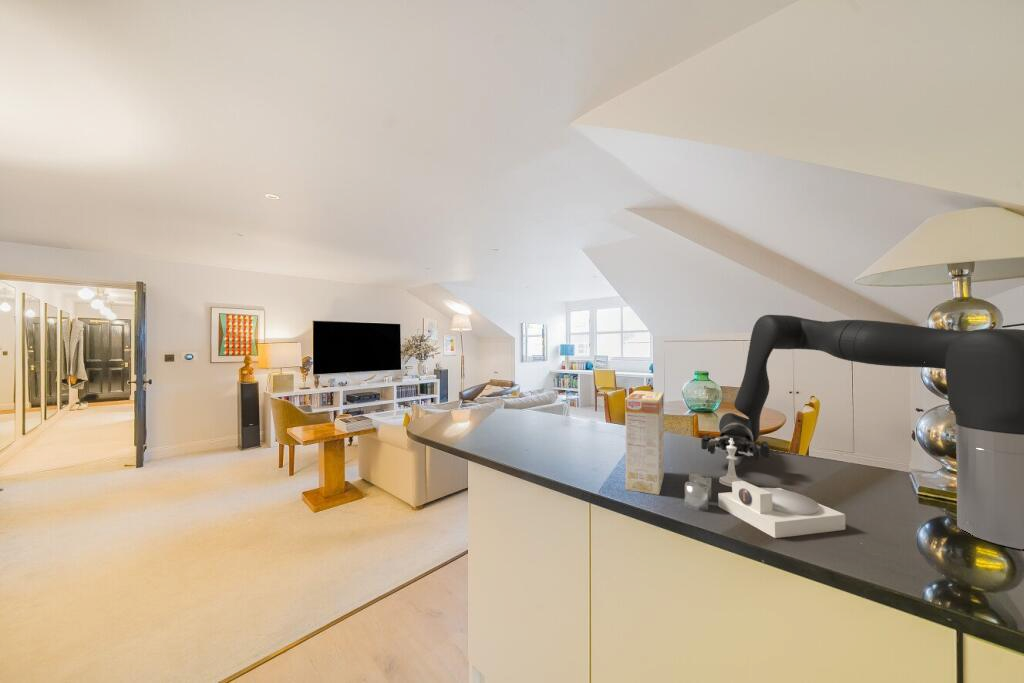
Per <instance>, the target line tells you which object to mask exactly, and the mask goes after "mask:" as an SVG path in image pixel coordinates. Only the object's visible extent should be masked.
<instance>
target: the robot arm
mask: <svg viewBox="0 0 1024 683" xmlns="http://www.w3.org/2000/svg"><path fill="white" fill-rule="evenodd" d="M773 350H809V351H812V350H813V351H820V352H824V353H826V354H828V355H830V356H832V357H834V358H837V359H841V360H844V361H849V362H853V363H854V362H855V363H862V364H867V365H874V366H885V367H901V368H926V369H927V368H928V369H929V368H930V369H931V368H933V369H941V370H945V378H946V390H947V399H948V400H947V401H948V404H949V407H950V409H951V410H952V412H953V414H954V415H955V416H954V417H955V443H956V444H955V445H956V446H955V447H956V450H955V451H956V454H955V455H956V526H957V528H958V527H959V528H960V530H961V529H962V530H964V531H966V532H968V533H970V534H971V535H970V534H969V535H970V536H972V535H973V536H972V537H976V538H977V539H978V538H979V539H981V540H983V541H987V542H989V543H993V544H996V545H1000V546H1003V547H1004V546H1005V547H1007V548H1008V547H1009V548H1014V549H1019V550H1023V549H1024V329H1018V328H1017V329H1016V328H1014V329H1013V328H980V329H972V330H954V329H953V330H951V329H950V330H949V329H941V328H932V327H928V326H921V325H920V326H919V325H915V324H906V323H901V322H900V323H899V322H889V321H880V320H869V319H867V320H865V319H841V320H840V319H839V320H833V321H831V320H830V321H822V320H821V321H820V320H816V319H808V318H805V317H799V316H794V315H789V314H788V315H787V314H786V315H784V314H783V315H781V314H765V315H762V316H760V317H759V318H758V319H757V320H756V322H755V323H754V325H753V328H752V331H751V335H750V341H749V346H748V351H747V352H748V353H747V357H746V358H747V359H746V364H745V370H744V374H743V378H742V381H741V384H740V387H739V389H738V392H737V395H736V397H735V399H734V403H733V406H734V408H735V409H736V410H737V411H738V412H740V413H741V414H742V415H744V416H746V417H744V416H741V415H738V414H736V413H732V412H726V413H725V414H723V415H722V416H721V418H720V419H719V423H718V428H719V432H720V433H719V435H718V436H716V437H715V438H712V436H711V435H709V434H704V435H703V437H702V438H700V440H701V444H700V445H701V446H700V447H701V449H702V450H707V452H709V453H710V454H711V455H714V454H715V452H719V453H726V454H728V451H727V448H726V447H727V446H729V445H730V442H729V440H730V438H733V442H734V444H733V446H735V447H736V448H737V450H736V452H735V455H734V456H735V457H736V458H738V457H744V456H747V457H752V460H754V461H757V459H761V456H763V458H766V459H770V458H771V455H770V453H771V452H770V450H771V448H770V444H769V442H767V441H765V440H764V441H761V442H759V444H757V443H755V442H756V441H757V440H758V439H759V437H760V431H761V430H760V429H761V426H760V425H761V424H760V423H761V422H760V420H761V416H762V415H761V414H762V411H763V408H764V406H765V403H766V401H767V399H768V396H769V393H770V379H769V376H768V371H767V370H768V368H767V367H768V366H767V365H768V360H769V358H770V356H771V353H772V351H773ZM924 362H925V363H924ZM959 528H958V529H959ZM962 530H961V531H962ZM964 531H963V532H964ZM966 532H965V533H966ZM968 533H967V534H968Z"/></svg>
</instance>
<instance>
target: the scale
mask: <svg viewBox="0 0 1024 683" xmlns="http://www.w3.org/2000/svg"><path fill="white" fill-rule="evenodd" d="M731 490H732V491H730V492H718V494H717V495H718V496H717V497H718V506H717V507H718V508H720V509H722V510H724V511H726V512H728V513H729V514H731V515H732V516H735V517H736V518H738V519H740V520H742V522H745V523H747V524H749V525H751V526H752V527H755V528H756V529H758V530H760V531H761V532H763V533H765V534H767V535H769V536H771V537H772V538H773V539H777V538H779V539H781V538H786V537H787V538H788V537H796V536H804V535H811V534H812V535H813V534H821V533H828V532H837V531H844V530H846V514H845V513H843V512H841V511H838V510H836V509H832V508H830V507H828V506H825V505H823V504H822V503H821V504H820V503H818V502H817V501H815V500H814V499H812V498H810V497H808V496H807V495H806V496H805V495H803V494H801V493H798V492H794V491H790V490H786V489H784V488H781V487H776V488H775V487H774V488H773V487H758V486H756V485H754V484H751V483H749V482H747V481H745V480H743V481H735V482H732V487H731Z"/></svg>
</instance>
